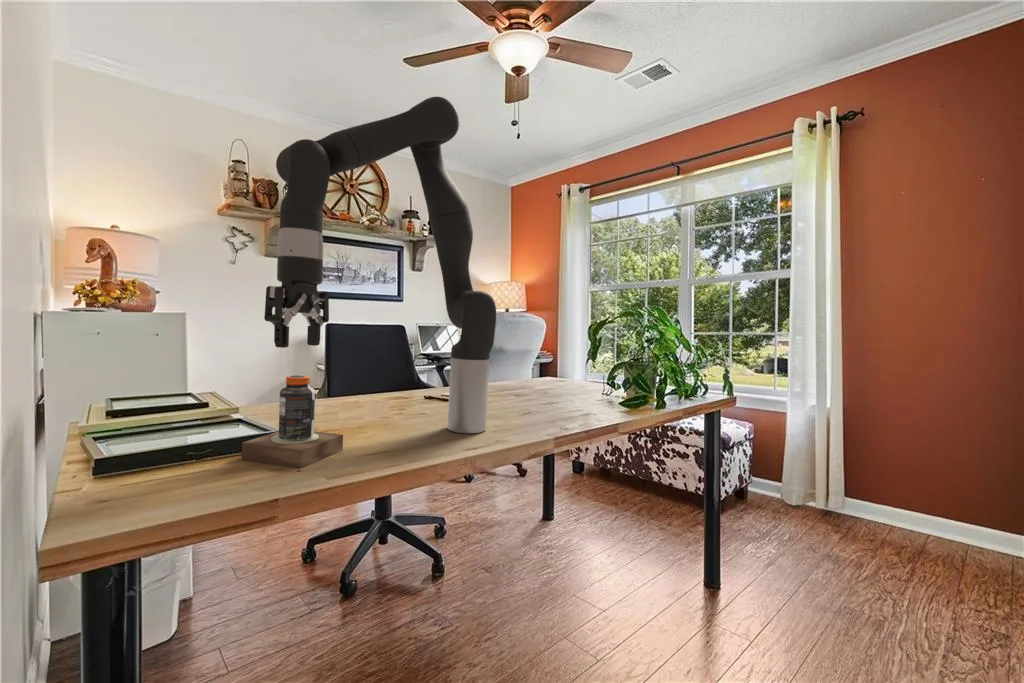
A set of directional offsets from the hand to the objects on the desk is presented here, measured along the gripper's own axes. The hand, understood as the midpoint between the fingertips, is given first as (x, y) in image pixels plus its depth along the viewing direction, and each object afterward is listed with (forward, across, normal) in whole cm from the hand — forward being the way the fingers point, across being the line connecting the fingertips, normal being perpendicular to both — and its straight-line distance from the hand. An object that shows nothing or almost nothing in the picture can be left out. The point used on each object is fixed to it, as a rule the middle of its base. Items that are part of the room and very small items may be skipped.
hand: (298, 346), depth 86 cm
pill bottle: (+17, 0, 0) cm, 17 cm away
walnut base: (+20, 0, 0) cm, 20 cm away
